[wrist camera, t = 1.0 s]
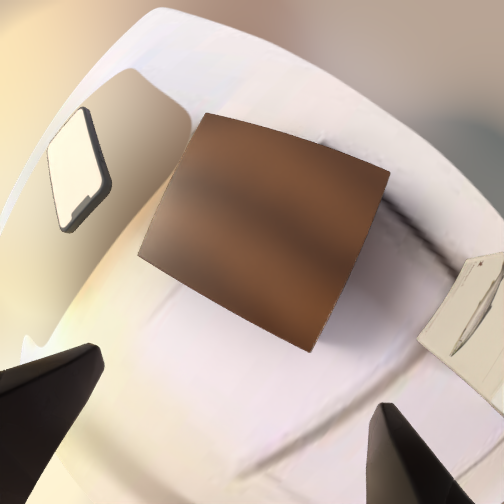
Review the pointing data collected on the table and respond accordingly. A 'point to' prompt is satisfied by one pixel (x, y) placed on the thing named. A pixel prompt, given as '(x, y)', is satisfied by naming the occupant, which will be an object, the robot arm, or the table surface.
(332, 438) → the table surface
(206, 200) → the block
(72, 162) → the white smartphone
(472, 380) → the white packaging box
